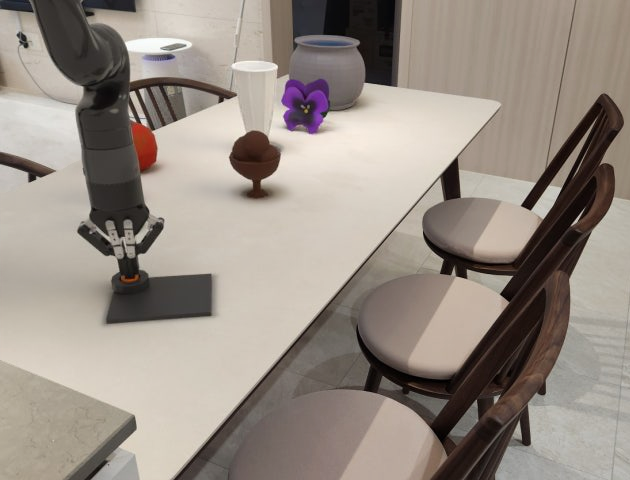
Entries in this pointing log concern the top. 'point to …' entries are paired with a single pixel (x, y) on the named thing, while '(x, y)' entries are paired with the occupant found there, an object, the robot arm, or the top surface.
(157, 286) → the dark grey flat plate
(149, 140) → the apple
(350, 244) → the top surface
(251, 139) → the ice cream bowl
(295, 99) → the flower
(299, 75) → the grey round pot
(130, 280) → the tare button
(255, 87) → the cup
